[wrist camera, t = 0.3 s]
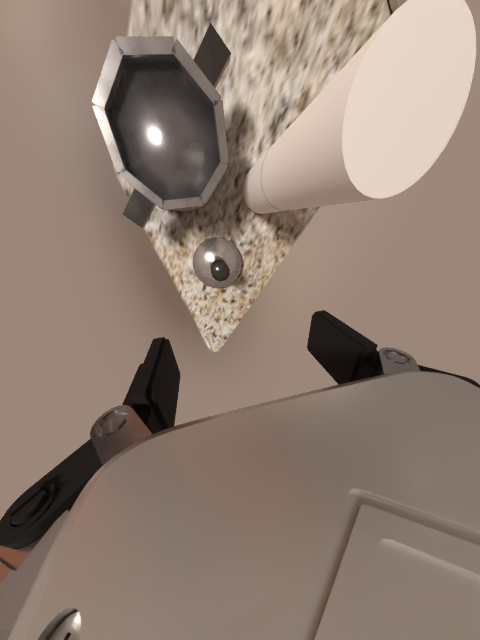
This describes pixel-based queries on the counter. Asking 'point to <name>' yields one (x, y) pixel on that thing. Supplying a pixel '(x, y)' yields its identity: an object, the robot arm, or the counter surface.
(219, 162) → the pot
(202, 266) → the lid
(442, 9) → the cylindrical container
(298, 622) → the robot arm
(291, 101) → the counter surface
